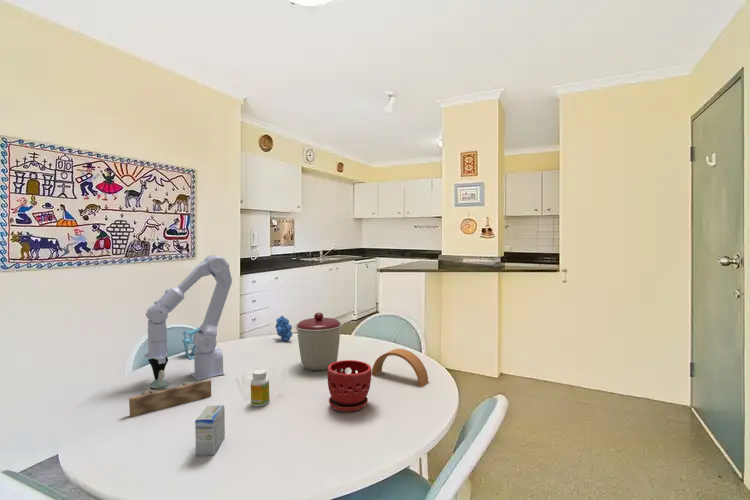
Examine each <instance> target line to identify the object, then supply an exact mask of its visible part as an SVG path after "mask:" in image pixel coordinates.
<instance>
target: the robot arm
mask: <svg viewBox="0 0 750 500" xmlns="http://www.w3.org/2000/svg"><path fill="white" fill-rule="evenodd" d="M211 275H212V277H213V279H214V280H215V282H216V284H215V287H214V289H213V292H212V294H211V297H210V301H209V304H208V307H207V310H206V313H205V316H204V319H203V322H202V324H201V325H200V326H199V327H198V328H199V331H198V332H197V333H196V334H194V336H193V337H192V338H193V344H194V345H195V346H196V348H195V350H194V354H193V356H194V359H193V360H194V361H193V362H194V372H191V373H190V375H191V376H192V377H193V378H194V379H195V380H196V381H200V380H201V381H202V380H204V379H205V380H206V379H210V378H213V377H218V376H222V375H225V373H224V355H223V351H222V349H221V348H216V347H217V335H218V325H219V322H220V319H221V315H222V312H223V310H224V307H225V304H226V301H227V298H228V295H229V292H230V288H231V286H232V283H233V278H232V274H231V270H230V264H229V263H228V262H227V259H226V258H224V257H222V256H219V255H213V254H211V255H208V256H206V257H205V259H204V260H202V261H201V262H200V263H198V264H197V265H196V266H195V268H193V269H192V271H190V273H189V274H188V275H187V276H186V277H185V278H184V279H183V280H182V281H181V282H180V284H179V285H178V286H177V287H170V288H169V289H166V290H164V294H163V295H162V296H161V297H160V298H158V300H155V301H153V305H151V306H150V307H148V308H147V309H146V313H145V316H146V318H147V319H148V320H147V344H148V345H147V351H148V353H145V354H143V355H144V358H146V359H147V358H149V359H148V360H147V362H149V365H150V366H151V369H152V374H153V377H154V380H156V379H158V375H159V372H160V370H163V371H164V372H165V370H166V365H167V364H168V362H169V358H168V355H169V351H168V334H167V332H168V330H167V327H168V326H167V320H168V316H169V313H171V312H172V311H173V310H174V309H175V308H176V307H178V305H179V304H180V303H181V302H182V301H183V300H184V299H185V293H186V292H187V291H189V289H190V288H191V287H193V286H194V284H196V283H197V282H198V281H199V280H200V279H201V278H202V277H206V276H211ZM194 345H193V346H194Z"/></svg>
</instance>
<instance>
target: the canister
mask: <svg viewBox="0 0 750 500" xmlns="http://www.w3.org/2000/svg"><path fill="white" fill-rule="evenodd" d="M342 326H343V323H342V322H341V321H339V320H338V319H335V318H332V317H324V313H322V312H316V313H315V314H314V316H313V318H312V317H310V318H307V319H303V320H301V321H299V322H298V323H296V324H295V325H294V328H295V329H296V332H297V333H296V334H297V341H298V347H299V349H298V350H299V355H300V360H301V364H302V366H303V367H304V368H305V369H306V370H309V371H326V370H328V366H329V365H330V364H331V363H334V362H337V361H338V356H339V350H340V349H339V348H340V339H341V338H340V336H341V327H342Z"/></svg>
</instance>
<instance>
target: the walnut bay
mask: <svg viewBox="0 0 750 500" xmlns="http://www.w3.org/2000/svg"><path fill="white" fill-rule="evenodd" d="M210 397H212V380H211V379H210V378H208V379H205V380H201V381H197V382H193V383H190V382H189V381H188V380H186V381H182V385H180V386H176V387H171V388H166V389H163V390H161V391H157V392H149V391H148V390H147V389H146V390H145V389H144V390H142V394H141V395H136V396H131V397H129V398H128V400H129V401H128V402H129V405H128V406H129V417H130V418H132V417H136V416H140V415H143V414H144V415H145V414H147V413H151V412H156V411H159V410H160V411H161V410H163V409H167V408H172V407H175V406H179V405H182V404H187V403H191V402H194V400H195V401H199V400H202V399H206V398H210ZM198 399H199V400H198Z"/></svg>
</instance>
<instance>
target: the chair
mask: <svg viewBox="0 0 750 500" xmlns="http://www.w3.org/2000/svg"><path fill="white" fill-rule="evenodd" d="M199 328H200V327H197V328H194V329H191V330H190V329H186V330H185V331H183V332H182V334H183V337H184V338H183V339H182V340H181V342H182V343H183V347H184V354H185V356H186V357H187V359H189V360H194V350H195V349H196V346H195V345H193V347H192V349H191V351H190V353H189V349H188V345H191V344H194V343H193V337H192V336H193V335H195V334H196V333H197V332H198V331H199ZM186 334H187V335H188V336H189V338H187V335H186ZM191 354H192V356H191Z"/></svg>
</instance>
